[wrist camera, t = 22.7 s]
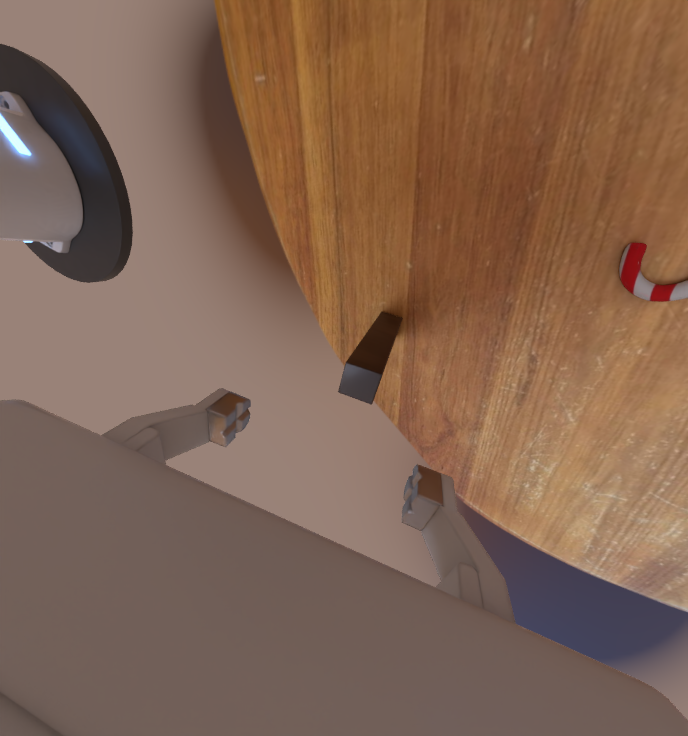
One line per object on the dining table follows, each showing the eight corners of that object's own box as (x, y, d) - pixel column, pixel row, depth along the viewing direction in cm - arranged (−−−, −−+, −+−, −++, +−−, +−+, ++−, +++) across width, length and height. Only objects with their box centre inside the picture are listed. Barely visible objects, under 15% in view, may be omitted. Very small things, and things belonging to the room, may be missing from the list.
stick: (375, 331, 29) (337, 392, 17) (381, 311, 28) (345, 361, 16) (395, 337, 28) (371, 405, 16) (402, 317, 27) (382, 374, 15)
